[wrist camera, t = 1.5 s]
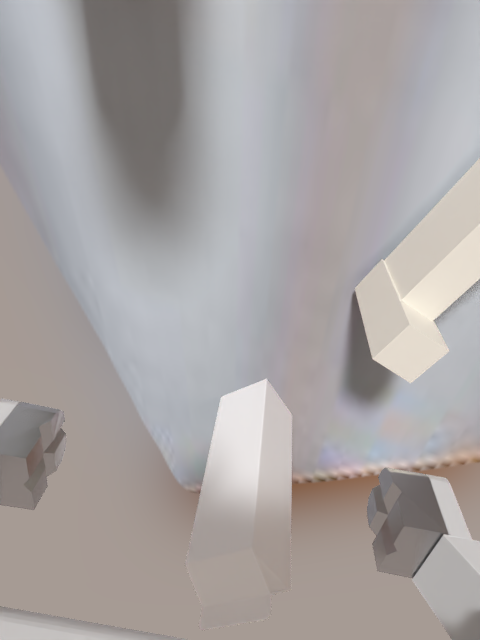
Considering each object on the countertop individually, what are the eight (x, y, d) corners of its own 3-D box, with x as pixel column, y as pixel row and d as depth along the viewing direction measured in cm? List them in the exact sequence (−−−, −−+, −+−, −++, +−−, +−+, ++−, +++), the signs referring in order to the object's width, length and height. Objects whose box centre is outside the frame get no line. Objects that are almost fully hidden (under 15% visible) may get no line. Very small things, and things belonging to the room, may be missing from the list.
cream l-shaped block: (502, 129, 31) (586, 160, 22) (536, 157, 31) (631, 199, 22) (354, 288, 38) (372, 358, 29) (384, 308, 39) (410, 383, 30)
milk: (292, 414, 49) (293, 639, 30) (246, 430, 51) (221, 650, 32) (266, 376, 46) (249, 597, 27) (219, 395, 48) (174, 611, 30)
